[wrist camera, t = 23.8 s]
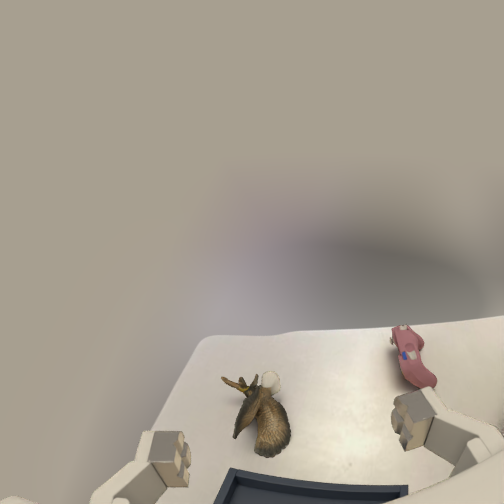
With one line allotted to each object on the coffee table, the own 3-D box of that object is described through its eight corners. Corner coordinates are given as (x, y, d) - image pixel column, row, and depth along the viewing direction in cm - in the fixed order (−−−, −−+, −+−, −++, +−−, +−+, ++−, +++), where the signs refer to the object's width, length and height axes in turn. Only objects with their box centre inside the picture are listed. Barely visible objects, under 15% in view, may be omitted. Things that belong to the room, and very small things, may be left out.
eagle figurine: (207, 402, 35) (217, 452, 26) (232, 354, 35) (249, 398, 26) (263, 417, 37) (284, 463, 28) (289, 372, 37) (318, 414, 28)
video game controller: (397, 355, 43) (382, 321, 41) (424, 343, 41) (412, 308, 40) (407, 402, 34) (393, 367, 32) (439, 389, 32) (429, 352, 31)
